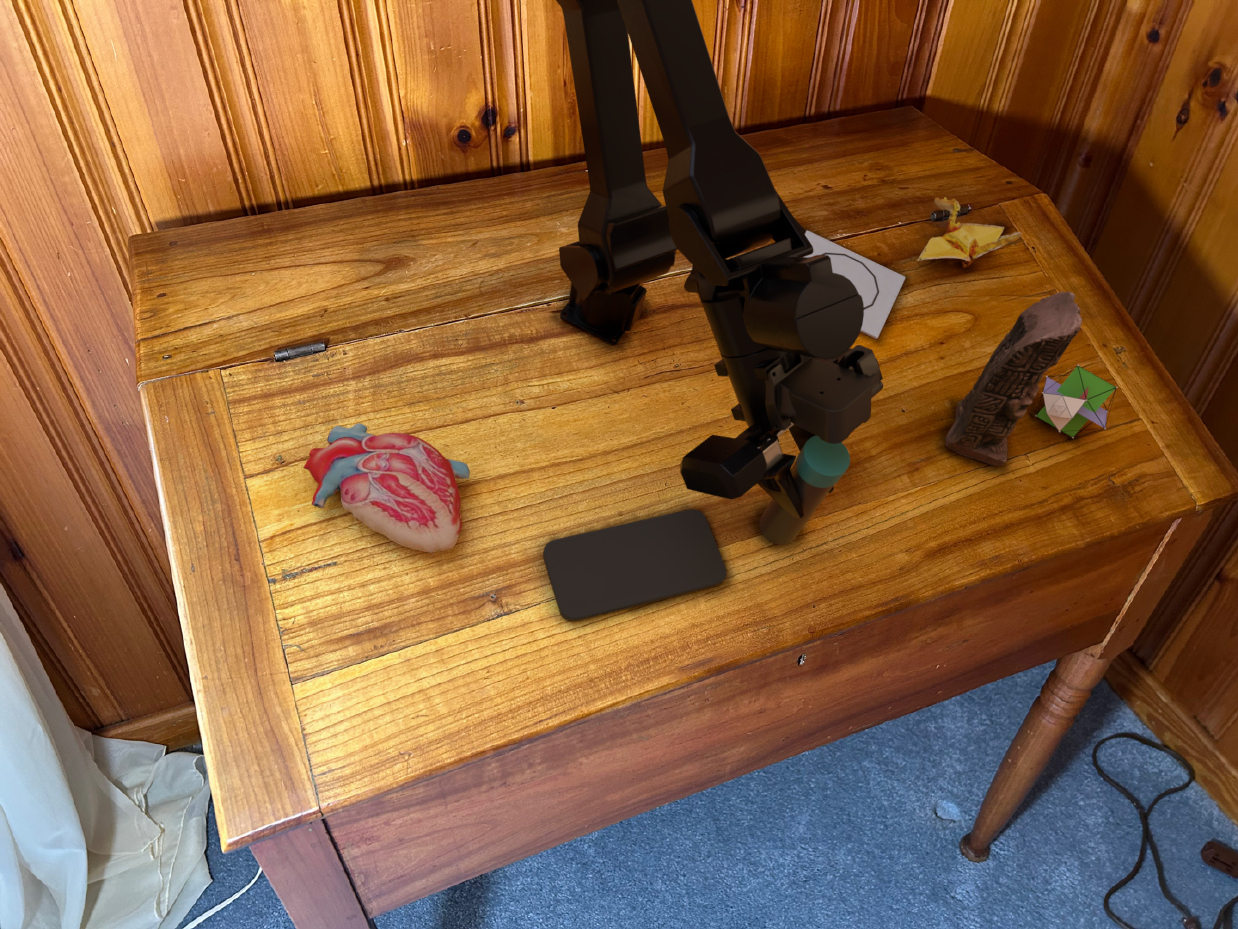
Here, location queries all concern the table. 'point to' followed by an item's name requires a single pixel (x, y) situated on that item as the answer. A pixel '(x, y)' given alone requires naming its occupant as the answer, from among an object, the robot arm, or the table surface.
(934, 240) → the origami crane
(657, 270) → the robot arm
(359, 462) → the anatomical model
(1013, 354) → the statue
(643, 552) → the phone
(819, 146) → the table surface
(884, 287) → the white rectangular board
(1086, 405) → the geometric puzzle
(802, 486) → the dot marker
